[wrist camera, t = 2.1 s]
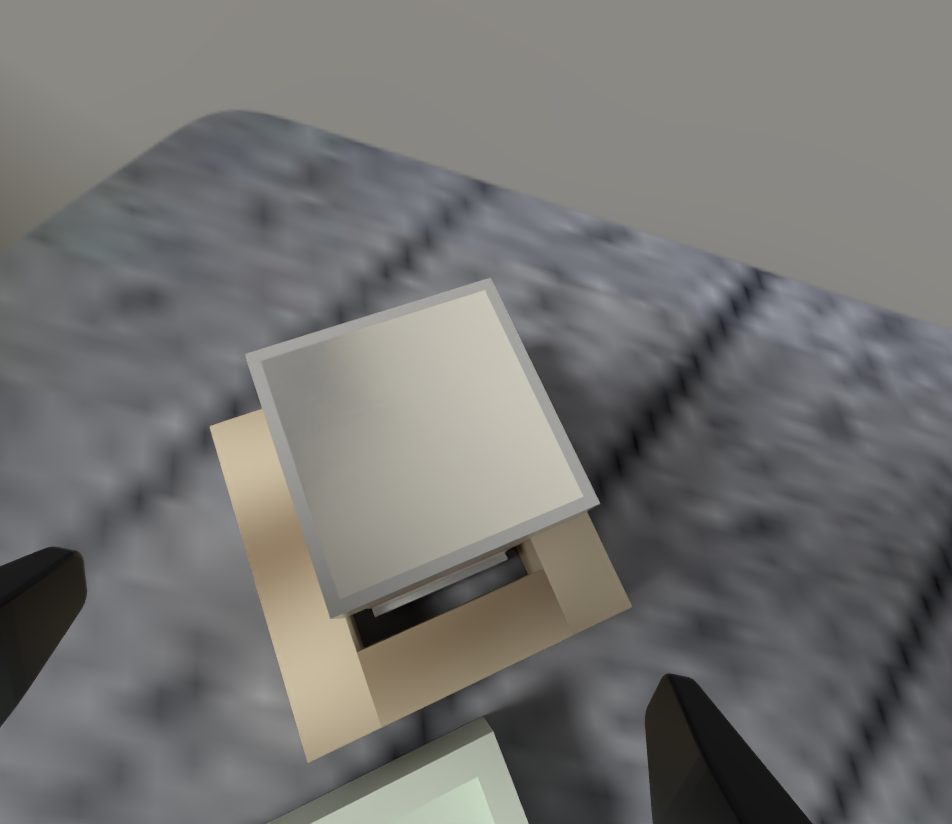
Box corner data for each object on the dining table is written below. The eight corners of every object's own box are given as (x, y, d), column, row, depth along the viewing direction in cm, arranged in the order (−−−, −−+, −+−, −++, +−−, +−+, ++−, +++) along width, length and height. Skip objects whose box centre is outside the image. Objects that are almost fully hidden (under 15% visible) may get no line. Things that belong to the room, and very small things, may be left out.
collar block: (605, 607, 19) (632, 607, 17) (322, 742, 17) (307, 762, 15) (491, 359, 22) (499, 329, 19) (234, 448, 20) (209, 426, 17)
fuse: (500, 563, 19) (600, 503, 9) (378, 617, 18) (330, 619, 8) (452, 447, 20) (490, 277, 10) (334, 491, 20) (244, 354, 9)
